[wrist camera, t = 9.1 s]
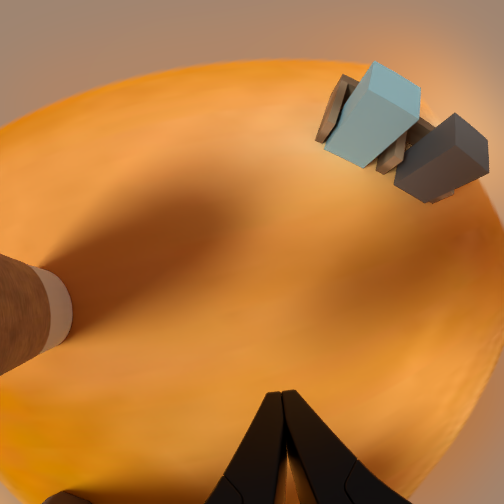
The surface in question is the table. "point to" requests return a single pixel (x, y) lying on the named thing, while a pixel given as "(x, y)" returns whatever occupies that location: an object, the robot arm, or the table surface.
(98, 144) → the table surface
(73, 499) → the beer bottle
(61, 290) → the coffee cup
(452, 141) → the dark gray block
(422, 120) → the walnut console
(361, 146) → the pale blue tall block
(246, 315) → the table surface
